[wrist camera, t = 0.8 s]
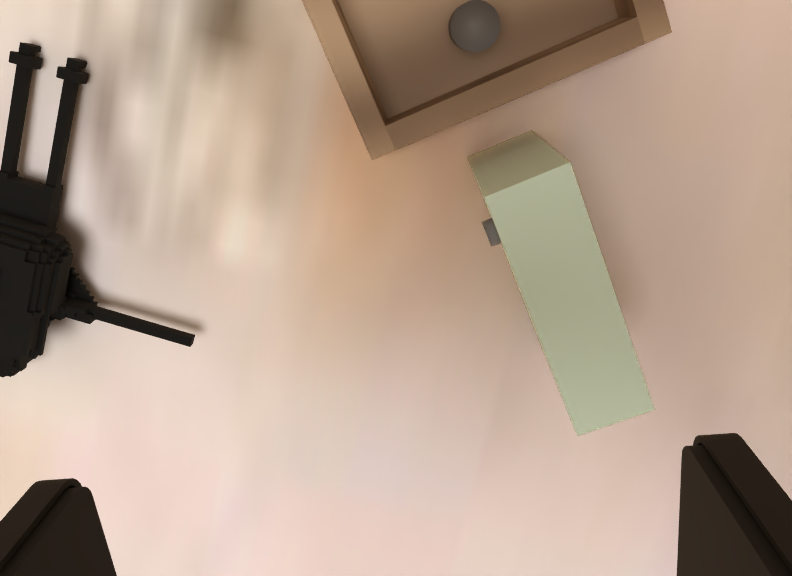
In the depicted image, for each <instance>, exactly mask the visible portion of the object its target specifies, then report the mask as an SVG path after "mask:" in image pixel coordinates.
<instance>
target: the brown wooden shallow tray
mask: <svg viewBox="0 0 792 576" xmlns="http://www.w3.org/2000/svg"><path fill="white" fill-rule="evenodd" d="M302 1H303V4H304V6H305V8H306V10H307V13H308V15H309V17H310V20H311V22H312V24H313V26H314V29H315V31H316V33H317V36H318V38H319V40H320V42H321V45H322V47H323V49H324V52H325V54H326V56H327V58H328V61H329V63H330V65H331V68H332V70H333V72H334V74H335V77H336V79H337V81H338V84H339V86H340V88H341V90H342V93H343V95H344V97H345V100H346V102H347V104H348V106H349V109H350V111H351V113H352V116H353V118H354V120H355V122H356V125H357V127H358V129H359V132H360V134H361V136H362V138H363V141H364V143H365V145H366V148H367V150H368V152H369V154H370V157H371V159H372V160H373V159H376V158H378V157H380V156H383V155H385V154H387V153H390V152H392V151H394V150H397V149H399V148H402V147H404V146H406V145H409V144H411V143H413V142H416V141H418V140H420V139H423V138H425V137H427V136H430V135H432V134H434V133H437V132H439V131H441V130H444V129H446V128H448V127H451V126H453V125H455V124H458V123H460V122H462V121H465V120H467V119H469V118H472V117H474V116H476V115H479V114H481V113H483V112H486V111H488V110H491V109H493V108H495V107H498V106H500V105H502V104H505V103H507V102H509V101H512V100H514V99H516V98H519V97H521V96H523V95H526V94H528V93H530V92H533V91H535V90H537V89H540V88H542V87H544V86H547V85H549V84H551V83H554V82H556V81H558V80H561V79H563V78H565V77H568V76H570V75H572V74H575V73H577V72H580V71H582V70H584V69H587V68H589V67H591V66H594V65H596V64H598V63H601V62H603V61H605V60H608V59H610V58H612V57H615V56H617V55H619V54H622V53H624V52H626V51H629V50H631V49H633V48H636V47H638V46H640V45H643V44H645V43H647V42H650V41H652V40H654V39H657V38H659V37H662V36H664V35H666V34H669V33H671V32H672V31H671V27H670V24H669V20H668V16H667V13H666V9H665V5H664V2H663V0H302Z"/></svg>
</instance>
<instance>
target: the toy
mask: <svg viewBox="0 0 792 576" xmlns="http://www.w3.org/2000/svg"><path fill="white" fill-rule="evenodd" d="M35 52H41V47H40V46H37V45H34V44H30V43H21V42H20V46H19V52H14V51H10V56H9V62H10V63H14V64H17V66H16V73H15V79H14V86H13V92H12V99H11V106H10V112H9V119H8V125H7V132H6V138H5V145H4V152H3V158H2V165H1V170H0V376H1V377H4V376H10V377H11V376H14V375H15V374H17V373H18V372H19V371H22V370H24V369H25V368H26V366H27V363H28V362H30V361H31V360H32V359H35V358H36V357H37V356H38V355H40V356H41V355H42V354H43V351H44V345H45V340H46V334H47V329H48V326H49V324H50V321H52V320H54V319H58V320H61V319H64V318H65V317H67V318H70V319H74V320H77V321H81V322H84V323H88V324H90V323H92V322H93V321H94V320H96V319H97V320H100V321H104V322H107V323H111V324H114V325H117V326H121V327H124V328H128V329H131V330H134V331H138V332H141V333H145V334H148V335H152V336H155V337H158V338H162V339H165V340H169V341H172V342H175V343H179V344H182V345H186V346H189V347H190V346H191V345H192V344H193V341H194V337H195V335H193V334H190V333H186V332H183V331H179V330H176V329H173V328H169V327H166V326H162V325H159V324H156V323H152V322H149V321H145V320H142V319H139V318H135V317H132V316H128V315H125V314H122V313H118V312H115V311H111V310H108V309H105V308H101V307H98V306H97V303H98V302H94V301H93V299H94V297H93V296H89V295H90V291H88V290H86V285H83V284H82V280H81V279H78V276H79V274H77V273H74V271H75V268H72V267H70V266H71V261H72V255H73V253H71V250H70V249H69V244H70V243H69V242H66V241H65V236H62V235H58V234H56V230H57V229H55V227H56V222H57V216H58V210H59V205H60V199H61V194H62V188H63V185H61V181H62V175H63V170H64V164H65V159H66V153H67V147H68V142H69V136H70V130H71V125H72V119H73V114H74V108H75V102H76V97H77V91H78V85H79V84H87V78H88V73H85V72H82V71H81V69H82V67H86V66H87V62H86V61H83V60H80V59H77V58H67V64H66V67H59V66H58V69H57V75H56V77H58V78H61V79H64V81H63V87H62V93H61V99H60V105H59V111H58V116H57V122H56V128H55V134H54V140H53V145H52V151H51V157H50V163H49V169H48V175H47V180H46V184H41V183H38V182H35V181H31V180H28V179H25V178H22V177H18V174H19V172H18V171H16V170H17V164H18V158H19V151H20V145H21V139H22V132H23V126H24V120H25V113H26V107H27V101H28V95H29V88H30V82H31V76H32V69H41V64H42V59H41V58H38V57H35Z"/></svg>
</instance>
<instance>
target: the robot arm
mask: <svg viewBox="0 0 792 576" xmlns="http://www.w3.org/2000/svg"><path fill="white" fill-rule="evenodd" d="M0 576H117V575H116V572H115V568H114V565H113V562H112V558H111V555H110V552H109V549H108V545H107V542H106V539H105V535H104V532H103V529H102V525H101V522H100V519H99V516H98V512H97V509H96V506H95V502H94V499H93V496H92V493H91V491H90V490H89V489H88V488H87V487H82V486H81V484H80V483H79V481H78V480H76V479H73V478H71V479H57V480H42V481H38V482H36V483H34V484H33V485H32V486H31V487H30V488H29V489H28V490H27V492H26V493H25V494H24V495H23V496H22V497H21V498H20V500H19V501H18V502H17V503H16V504H15V505H14V506H13V508H12V509H11V510H10V511H9V512H8V513H7V514H6V516H5V517H4V518H3V519H2V520H1V521H0ZM677 576H792V500H791V499H790V498H789V497H788V495H787V494H786V493H785V492H784V490H783V489H782V488H781V486H780V485H779V484H778V483H777V481H776V480H775V479H774V478H773V476H772V475H771V474H770V473H769V471H768V470H767V469H766V468H765V466H764V465H763V464H762V463H761V461H760V460H759V459H758V458H757V456H756V455H755V454H754V453H753V451H752V450H751V449H750V447H749V446H748V445H747V444H746V442H745V441H744V440H743V439H742V437H740V436H739V435H738V434H736V433H728V434H714V435H699V436H697V437H695V440H694V443H693V446H685V447H684V448H683V451H682V463H681V488H680V512H679V536H678V560H677Z"/></svg>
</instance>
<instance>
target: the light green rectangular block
mask: <svg viewBox="0 0 792 576" xmlns="http://www.w3.org/2000/svg"><path fill="white" fill-rule="evenodd" d="M467 158H468V160H469V163H470V165H471V168H472V170H473V173H474V176H475V178H476V181H477V183H478V186H479V188H480V191H481V193H482V196H483V199H484V201H485V204H486V206H487V209H488V211H489V214H490V216H491V219H488V220H486V221H483V222H482V223H483V226H484V229H485V231H486V234H487V236H488V239H489V241H490V244H491V246H495V245H497V244H500V243H501V245H502V247H503V250H504V252H505V255H506V257H507V260H508V263H509V265H510V268H511V270H512V273H513V275H514V278H515V280H516V283H517V286H518V288H519V291H520V293H521V296H522V298H523V301H524V303H525V306H526V309H527V311H528V314H529V316H530V319H531V321H532V324H533V327H534V329H535V332H536V334H537V337H538V339H539V342H540V344H541V347H542V349H543V352H544V354H545V357H546V359H547V362H548V364H549V367H550V369H551V372H552V374H553V377H554V379H555V382H556V384H557V387H558V389H559V391H560V394H561V396H562V399H563V401H564V404H565V406H566V409H567V411H568V414H569V416H570V419H571V421H572V424H573V426H574V429H575V431H576V433H577V436H579V435H582V434H585V433H588V432H591V431H594V430H597V429H600V428H603V427H606V426H609V425H612V424H615V423H618V422H621V421H623V420H626V419H629V418H632V417H635V416H638V415H641V414H644V413H647V412H650V411H653V410H655V408H654V406H653V403H652V400H651V397H650V394H649V391H648V388H647V385H646V382H645V379H644V376H643V373H642V370H641V367H640V365H639V362H638V359H637V356H636V353H635V350H634V347H633V344H632V341H631V338H630V335H629V332H628V329H627V326H626V324H625V321H624V318H623V315H622V312H621V309H620V306H619V303H618V300H617V297H616V294H615V291H614V288H613V285H612V283H611V280H610V277H609V274H608V271H607V268H606V265H605V262H604V259H603V256H602V253H601V250H600V247H599V244H598V242H597V239H596V236H595V233H594V230H593V227H592V224H591V221H590V218H589V215H588V212H587V209H586V206H585V203H584V201H583V198H582V195H581V192H580V189H579V186H578V183H577V180H576V177H575V174H574V171H573V168H572V165H571V162H570V161H568V160H567V159H566V158H565V157H564V156H562V155H561V154H560V153H559V152H557V151H556V150H555V149H554V148H553V147H551V146H550V145H549V144H548V143H547V142H545V141H544V140H543V139H542V138H541V137H539V136H538V135H537V134H536V133H535V132H533V131H532V130H531V131H529V132H526V133H524V134H521V135H519V136H517V137H514V138H512V139H509V140H507V141H505V142H502V143H500V144H497V145H495V146H493V147H490V148H488V149H485V150H483V151H481V152H478V153H476V154H473V155H471V156H469V157H467Z"/></svg>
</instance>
